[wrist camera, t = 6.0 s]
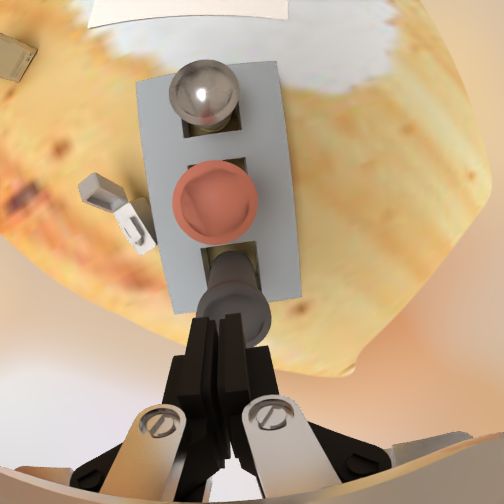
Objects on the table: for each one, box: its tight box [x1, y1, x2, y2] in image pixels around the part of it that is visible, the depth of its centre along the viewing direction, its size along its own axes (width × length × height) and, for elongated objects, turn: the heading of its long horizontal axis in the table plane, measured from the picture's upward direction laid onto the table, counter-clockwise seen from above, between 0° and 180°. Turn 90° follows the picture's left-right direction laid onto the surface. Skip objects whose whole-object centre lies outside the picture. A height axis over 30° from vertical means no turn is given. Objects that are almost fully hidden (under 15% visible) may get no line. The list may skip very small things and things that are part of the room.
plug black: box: [196, 251, 271, 348], centre depth 20 cm, size 4×4×8 cm
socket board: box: [136, 61, 302, 314], centre depth 24 cm, size 11×20×4 cm, turn 7°
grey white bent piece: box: [78, 173, 158, 255], centre depth 22 cm, size 7×2×8 cm, turn 30°
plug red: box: [172, 160, 258, 245], centre depth 18 cm, size 4×4×8 cm
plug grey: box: [169, 60, 239, 132], centre depth 19 cm, size 4×4×8 cm
